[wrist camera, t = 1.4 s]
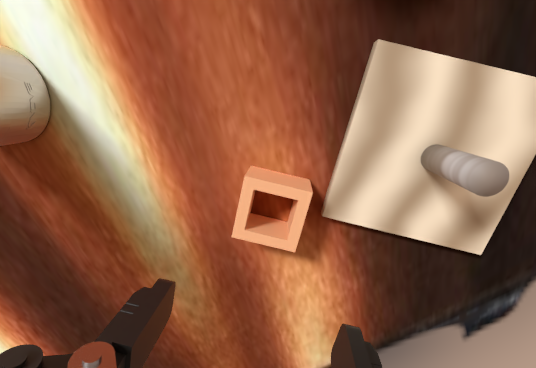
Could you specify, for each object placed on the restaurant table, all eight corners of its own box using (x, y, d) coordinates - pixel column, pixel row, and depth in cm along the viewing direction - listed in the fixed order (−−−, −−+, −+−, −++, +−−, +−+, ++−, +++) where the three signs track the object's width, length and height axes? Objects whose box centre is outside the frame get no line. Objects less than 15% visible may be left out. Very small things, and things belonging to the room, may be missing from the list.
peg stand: (320, 211, 28) (332, 254, 20) (374, 42, 23) (416, 13, 15) (473, 248, 28) (544, 306, 20) (558, 86, 23) (695, 79, 15)
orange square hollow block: (239, 219, 29) (231, 237, 25) (250, 165, 27) (244, 175, 23) (294, 232, 29) (295, 252, 25) (309, 179, 27) (313, 192, 23)
